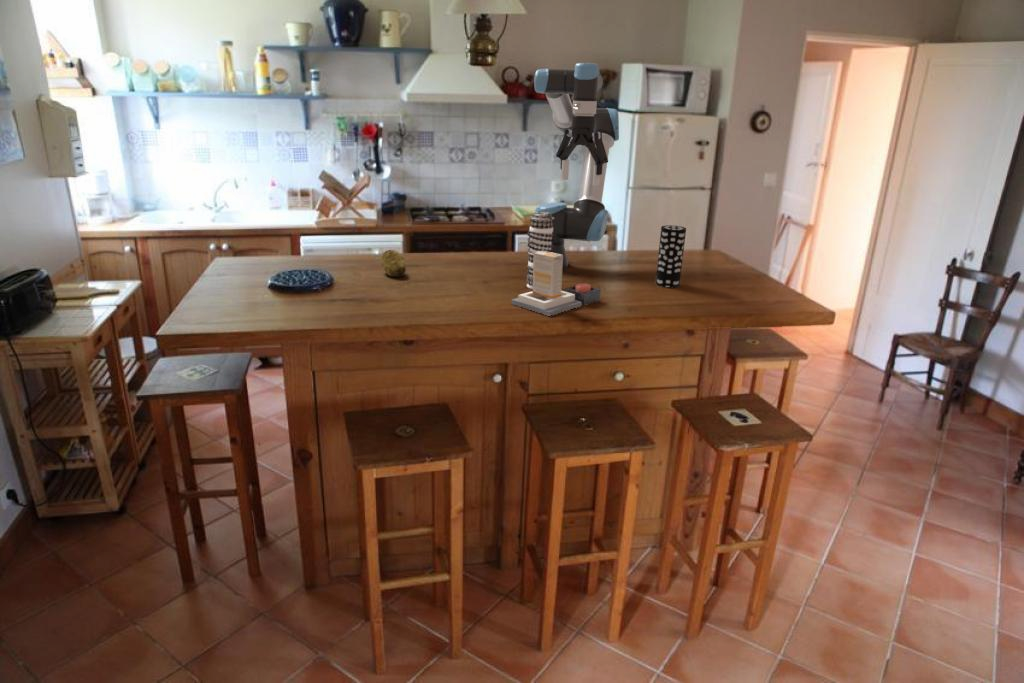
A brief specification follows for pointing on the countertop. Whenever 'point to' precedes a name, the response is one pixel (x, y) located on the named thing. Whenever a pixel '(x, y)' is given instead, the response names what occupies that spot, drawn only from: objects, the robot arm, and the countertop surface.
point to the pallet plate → (547, 303)
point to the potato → (393, 263)
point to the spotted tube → (670, 256)
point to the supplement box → (547, 274)
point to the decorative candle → (539, 239)
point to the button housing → (585, 295)
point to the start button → (583, 287)
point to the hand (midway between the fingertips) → (580, 182)
